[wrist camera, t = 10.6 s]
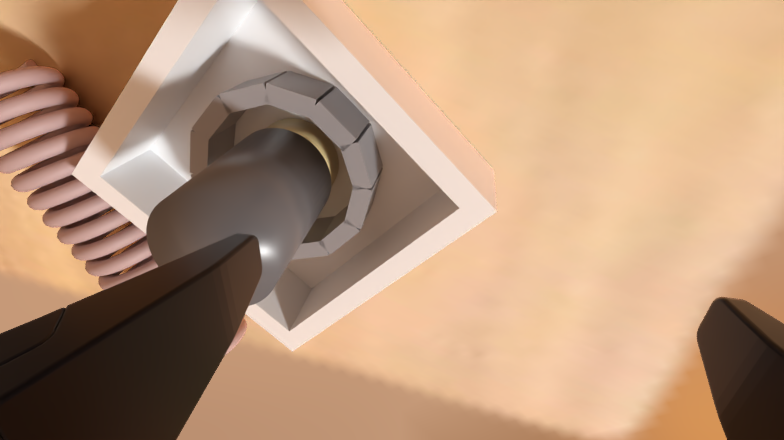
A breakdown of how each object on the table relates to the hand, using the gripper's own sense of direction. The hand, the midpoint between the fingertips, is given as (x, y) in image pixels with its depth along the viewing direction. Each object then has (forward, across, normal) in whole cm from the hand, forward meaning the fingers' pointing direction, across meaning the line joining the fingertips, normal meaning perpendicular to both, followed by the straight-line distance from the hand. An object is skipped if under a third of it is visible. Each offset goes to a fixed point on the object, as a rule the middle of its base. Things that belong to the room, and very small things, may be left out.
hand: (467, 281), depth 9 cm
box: (+12, +8, +3) cm, 14 cm away
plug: (+11, +8, +3) cm, 14 cm away
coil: (+12, +18, +7) cm, 23 cm away
